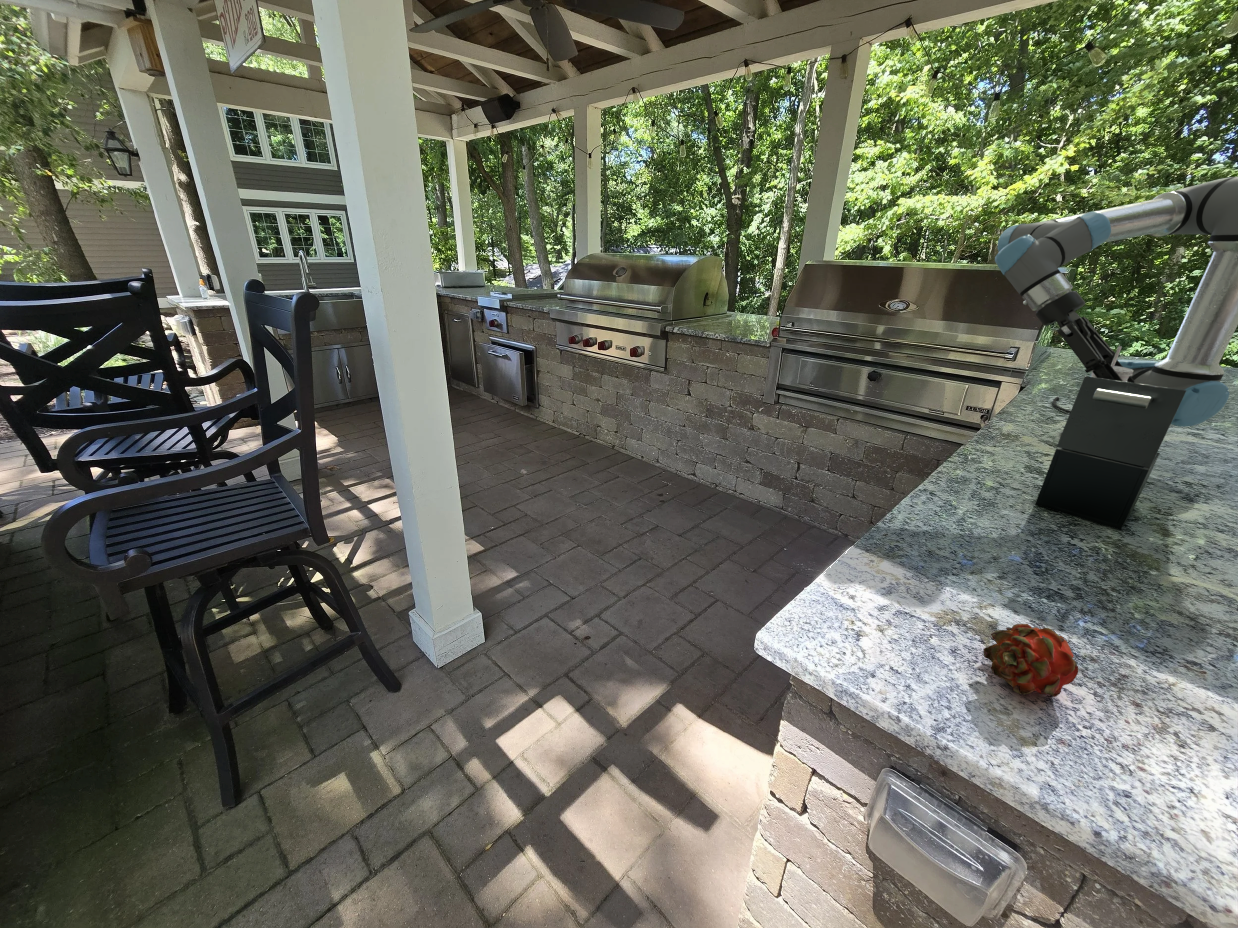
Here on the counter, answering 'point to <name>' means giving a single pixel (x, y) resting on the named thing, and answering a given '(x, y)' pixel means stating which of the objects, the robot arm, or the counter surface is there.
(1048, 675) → the dragon fruit
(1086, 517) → the trash can
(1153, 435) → the trash lid
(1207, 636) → the counter surface
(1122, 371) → the smoothie
